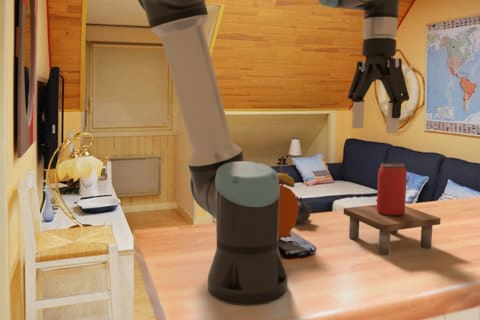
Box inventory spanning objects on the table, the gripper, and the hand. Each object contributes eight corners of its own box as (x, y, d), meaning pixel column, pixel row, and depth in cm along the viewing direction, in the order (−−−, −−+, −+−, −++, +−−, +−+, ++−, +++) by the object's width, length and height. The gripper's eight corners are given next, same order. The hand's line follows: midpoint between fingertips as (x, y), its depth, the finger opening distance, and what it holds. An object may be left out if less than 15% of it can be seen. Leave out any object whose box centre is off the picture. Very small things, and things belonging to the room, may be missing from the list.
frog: (294, 229, 125) (295, 201, 124) (267, 219, 134) (267, 193, 133) (320, 223, 130) (321, 196, 129) (292, 214, 140) (292, 189, 139)
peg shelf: (382, 257, 103) (383, 225, 102) (342, 236, 118) (343, 208, 117) (438, 248, 109) (440, 218, 108) (394, 229, 124) (395, 202, 123)
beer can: (406, 217, 108) (409, 167, 107) (377, 216, 110) (380, 166, 108) (402, 210, 115) (405, 162, 113) (375, 209, 116) (377, 162, 114)
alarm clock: (283, 233, 121) (284, 158, 118) (298, 240, 116) (300, 161, 113) (241, 243, 113) (241, 163, 110) (255, 250, 108) (255, 166, 105)
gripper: (431, 33, 96) (423, 135, 99) (362, 44, 119) (357, 126, 122) (401, 31, 94) (394, 135, 97) (336, 42, 117) (332, 126, 120)
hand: (373, 130), depth 110 cm, fingers open, 13 cm apart
